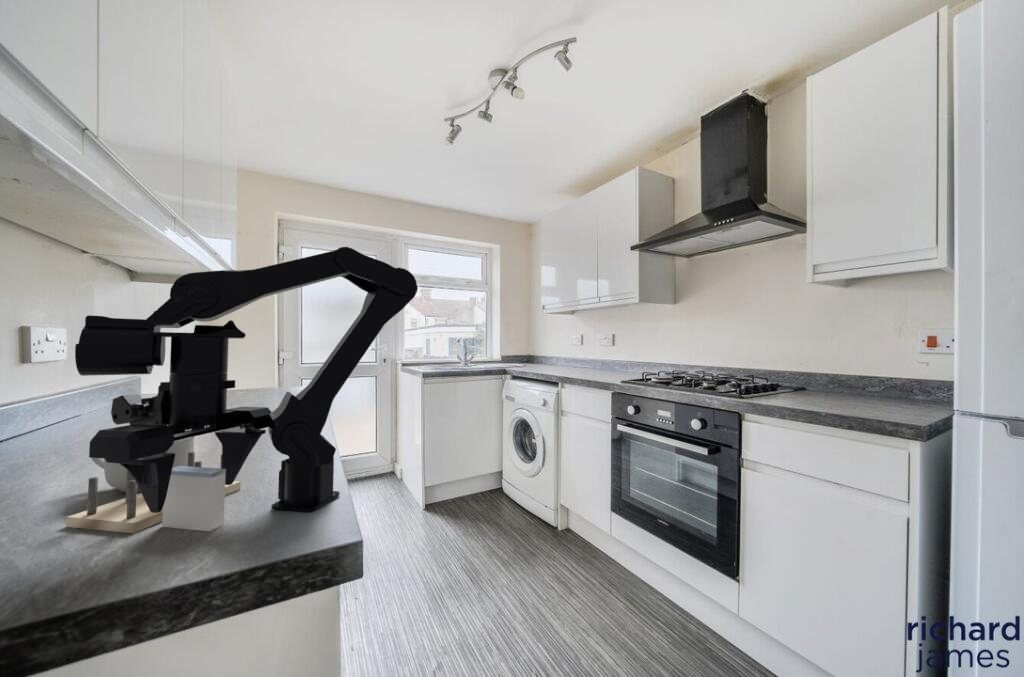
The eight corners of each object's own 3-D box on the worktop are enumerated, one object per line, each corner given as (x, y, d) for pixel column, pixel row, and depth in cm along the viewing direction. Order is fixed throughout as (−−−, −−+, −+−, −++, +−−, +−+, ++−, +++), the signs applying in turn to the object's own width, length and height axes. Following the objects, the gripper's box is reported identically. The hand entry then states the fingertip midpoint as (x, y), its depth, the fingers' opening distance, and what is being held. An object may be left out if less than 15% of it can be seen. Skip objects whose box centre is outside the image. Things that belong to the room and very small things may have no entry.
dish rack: (240, 489, 60) (241, 452, 61) (133, 533, 46) (135, 485, 46) (187, 485, 62) (188, 450, 62) (66, 526, 47) (68, 480, 47)
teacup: (210, 477, 66) (211, 430, 66) (143, 501, 55) (146, 445, 56) (138, 474, 68) (140, 428, 68) (60, 496, 57) (63, 443, 57)
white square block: (224, 524, 48) (226, 468, 48) (210, 531, 46) (212, 473, 46) (177, 520, 49) (179, 465, 49) (161, 527, 47) (164, 470, 48)
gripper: (213, 369, 59) (209, 470, 58) (50, 377, 41) (43, 525, 40) (277, 370, 57) (274, 474, 57) (137, 378, 39) (130, 533, 38)
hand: (195, 497), depth 48 cm, fingers open, 9 cm apart
